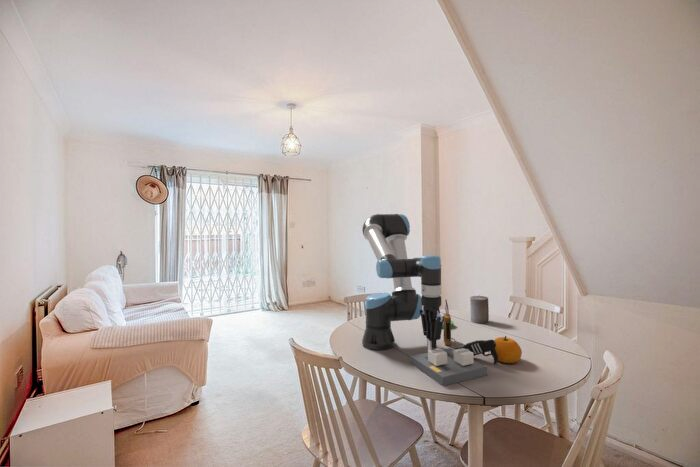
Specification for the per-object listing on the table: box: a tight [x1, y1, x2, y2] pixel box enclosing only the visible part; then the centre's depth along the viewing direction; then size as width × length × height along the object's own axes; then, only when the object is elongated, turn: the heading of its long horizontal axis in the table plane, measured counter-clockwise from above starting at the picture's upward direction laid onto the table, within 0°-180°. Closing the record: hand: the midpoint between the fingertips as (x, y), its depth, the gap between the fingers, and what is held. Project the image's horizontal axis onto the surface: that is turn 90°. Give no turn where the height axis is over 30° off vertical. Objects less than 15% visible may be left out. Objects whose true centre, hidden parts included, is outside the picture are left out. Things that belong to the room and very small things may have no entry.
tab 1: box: [427, 348, 447, 366], centre depth 122 cm, size 5×5×4 cm
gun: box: [461, 339, 499, 365], centre depth 131 cm, size 3×16×10 cm, turn 51°
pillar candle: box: [469, 295, 490, 325], centre depth 184 cm, size 10×10×15 cm
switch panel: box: [409, 347, 488, 387], centre depth 123 cm, size 20×20×3 cm
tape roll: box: [442, 320, 455, 330], centre depth 177 cm, size 11×11×3 cm
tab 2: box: [453, 347, 475, 366], centre depth 121 cm, size 5×5×4 cm
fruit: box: [491, 335, 523, 364], centre depth 131 cm, size 12×12×10 cm
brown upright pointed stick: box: [442, 299, 466, 350], centre depth 150 cm, size 15×10×20 cm
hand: (432, 355), depth 125 cm, fingers closed
